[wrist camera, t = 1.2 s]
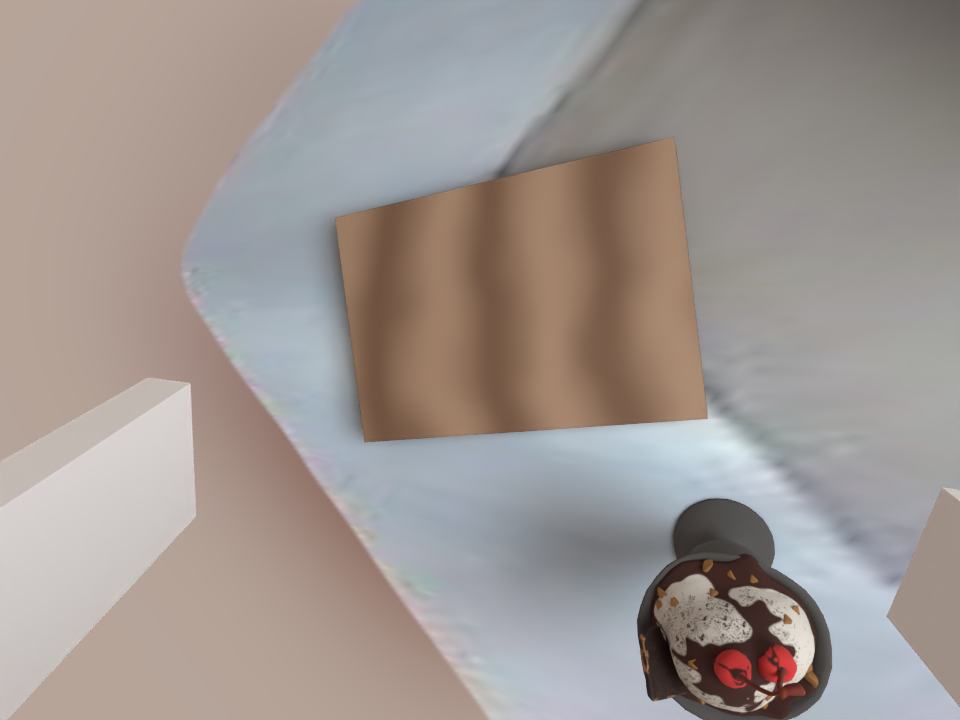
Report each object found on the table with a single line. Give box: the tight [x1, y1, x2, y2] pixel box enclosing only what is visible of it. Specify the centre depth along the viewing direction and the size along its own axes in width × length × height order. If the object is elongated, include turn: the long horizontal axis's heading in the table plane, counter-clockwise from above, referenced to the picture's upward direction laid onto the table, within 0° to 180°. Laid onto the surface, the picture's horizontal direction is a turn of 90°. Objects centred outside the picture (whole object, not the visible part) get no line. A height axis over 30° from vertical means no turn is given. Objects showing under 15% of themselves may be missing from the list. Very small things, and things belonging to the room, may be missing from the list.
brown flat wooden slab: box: [335, 137, 707, 442], centre depth 34 cm, size 20×14×2 cm
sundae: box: [637, 499, 832, 720], centre depth 24 cm, size 7×7×15 cm
